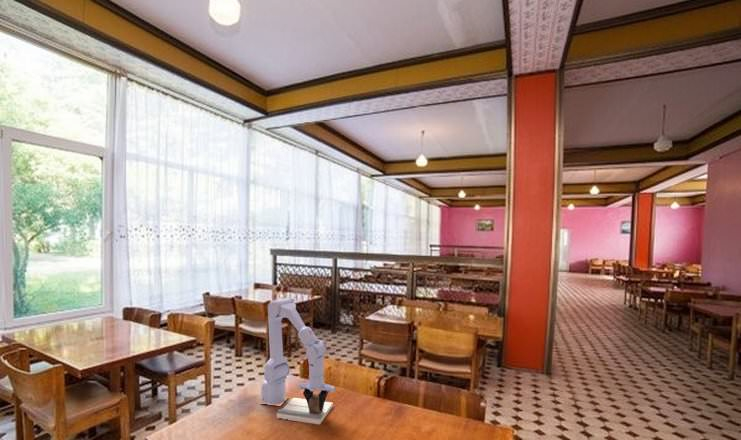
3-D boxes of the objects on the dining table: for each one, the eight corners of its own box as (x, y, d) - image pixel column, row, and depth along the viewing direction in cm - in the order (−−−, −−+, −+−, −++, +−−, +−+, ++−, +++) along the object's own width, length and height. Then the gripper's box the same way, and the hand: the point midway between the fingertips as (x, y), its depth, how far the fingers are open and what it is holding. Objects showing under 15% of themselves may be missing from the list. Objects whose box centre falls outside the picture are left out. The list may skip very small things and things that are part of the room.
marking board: (276, 418, 130) (276, 411, 130) (293, 401, 143) (293, 395, 143) (319, 424, 125) (319, 417, 125) (332, 406, 139) (332, 400, 139)
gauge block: (309, 414, 129) (309, 398, 130) (313, 409, 133) (313, 394, 134) (318, 416, 128) (318, 400, 129) (322, 410, 132) (322, 395, 133)
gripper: (294, 375, 130) (294, 411, 129) (329, 379, 126) (329, 416, 125) (302, 369, 136) (302, 403, 136) (336, 372, 133) (336, 407, 132)
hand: (316, 409), depth 131 cm, fingers closed on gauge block, 4 cm apart
